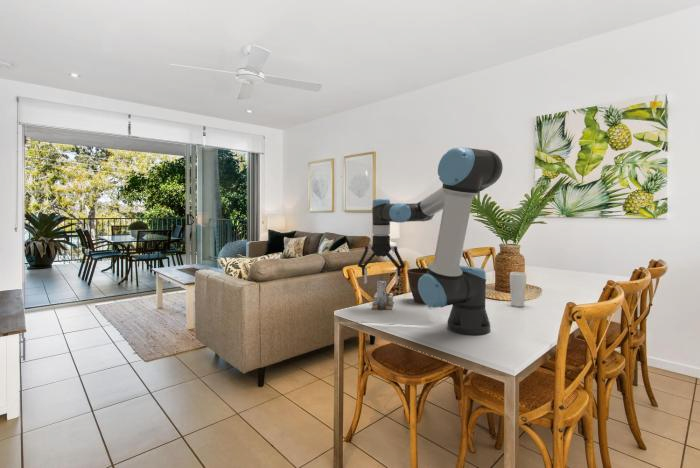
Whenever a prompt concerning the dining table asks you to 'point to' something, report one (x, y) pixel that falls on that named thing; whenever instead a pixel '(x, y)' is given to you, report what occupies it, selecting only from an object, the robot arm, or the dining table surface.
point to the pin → (381, 295)
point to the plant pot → (416, 282)
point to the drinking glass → (517, 288)
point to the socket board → (388, 302)
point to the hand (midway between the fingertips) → (381, 283)
